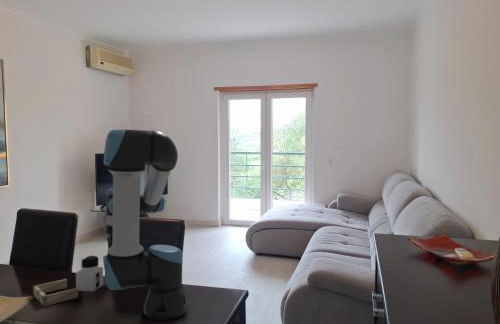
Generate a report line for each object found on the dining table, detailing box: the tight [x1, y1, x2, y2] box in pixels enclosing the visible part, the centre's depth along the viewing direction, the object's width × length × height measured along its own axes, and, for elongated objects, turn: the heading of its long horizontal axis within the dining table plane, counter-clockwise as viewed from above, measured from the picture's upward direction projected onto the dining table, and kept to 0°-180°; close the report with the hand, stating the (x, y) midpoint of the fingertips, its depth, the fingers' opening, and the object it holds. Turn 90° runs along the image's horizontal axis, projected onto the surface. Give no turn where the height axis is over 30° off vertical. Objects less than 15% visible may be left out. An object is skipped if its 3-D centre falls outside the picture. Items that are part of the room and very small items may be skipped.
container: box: [75, 255, 104, 292], centre depth 153 cm, size 8×8×13 cm
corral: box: [32, 278, 79, 307], centre depth 144 cm, size 14×12×4 cm
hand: (115, 277), depth 160 cm, fingers closed
